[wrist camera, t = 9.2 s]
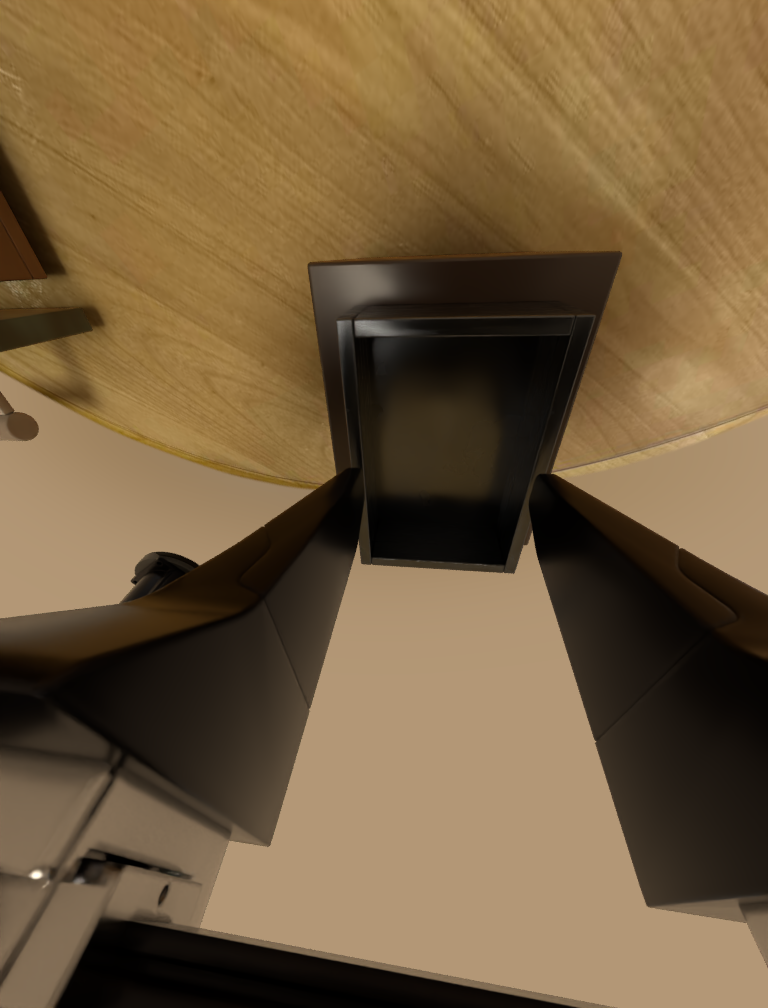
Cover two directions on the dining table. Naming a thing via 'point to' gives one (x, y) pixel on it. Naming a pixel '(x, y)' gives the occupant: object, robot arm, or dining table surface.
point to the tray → (455, 423)
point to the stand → (451, 281)
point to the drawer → (27, 317)
